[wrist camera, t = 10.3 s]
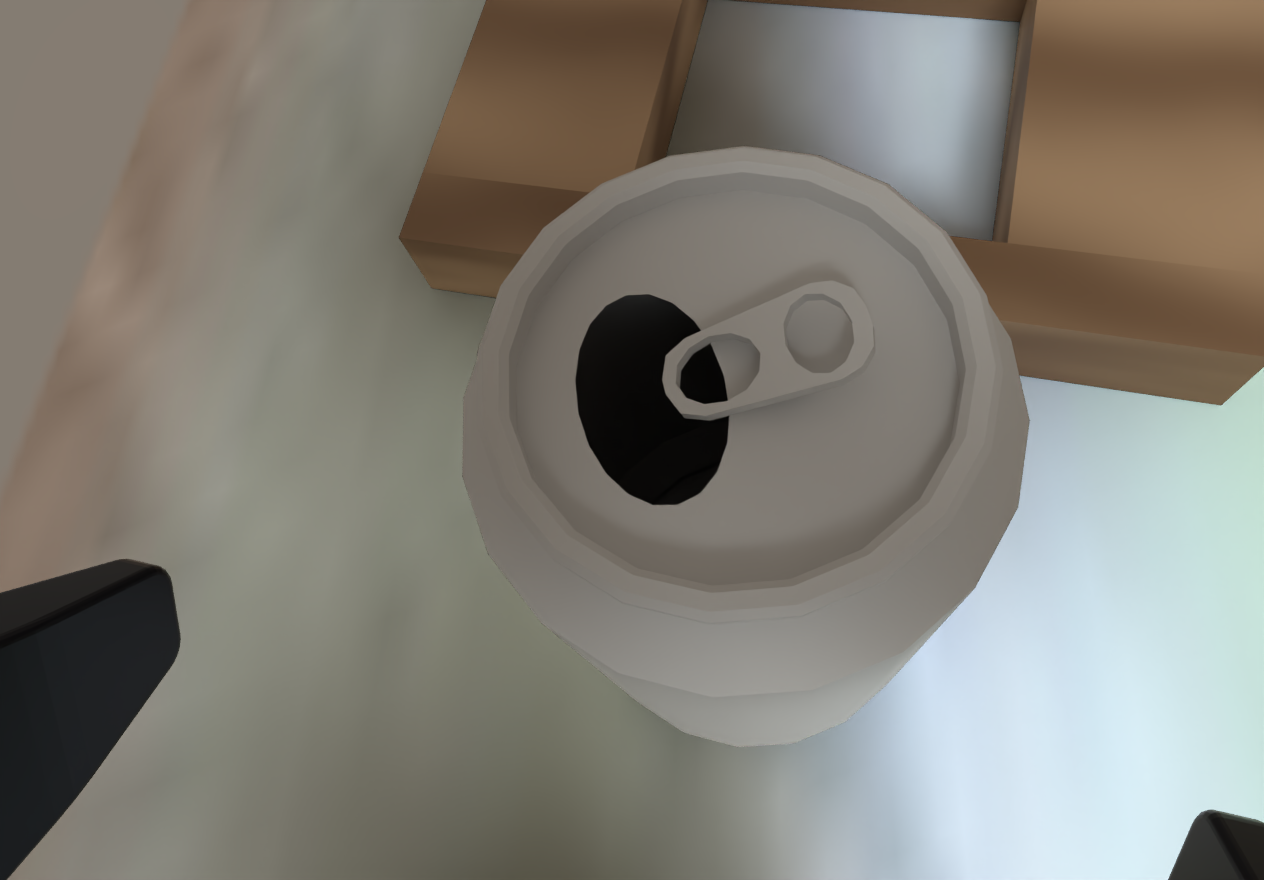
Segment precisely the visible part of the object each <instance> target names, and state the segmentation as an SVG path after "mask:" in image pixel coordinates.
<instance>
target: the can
mask: <svg viewBox="0 0 1264 880" xmlns="http://www.w3.org/2000/svg"><path fill="white" fill-rule="evenodd" d="M1029 421H1030V420H1029V416H1028V412H1027V407H1026V403H1025V398H1024V394H1023V390H1022V385H1021V381H1020V377H1019V372H1018V368H1017V363H1016V359H1015V355H1014V350H1013V346H1012V341H1011V338H1010V336H1009V335H1008V333H1007V332H1006V330H1005V329H1004V327H1003V325H1002V324H1001V322H1000V321H999V319H998V317H997V316H996V314H995V313H994V311H993V310H992V308H991V306H990V305H989V303H988V298H987V295H986V293H985V292H984V290H983V289H982V287H981V286H980V284H979V282H978V281H977V279H976V278H975V276H974V274H973V273H972V271H971V270H970V268H969V267H968V265H967V263H966V262H965V260H964V259H963V257H962V256H961V254H960V252H959V251H958V249H957V248H956V246H955V244H954V243H953V241H952V240H951V238H950V237H949V235H948V233H947V232H946V231H945V230H944V229H942V228H941V227H940V226H939V225H937V224H936V223H935V222H934V221H933V220H931V219H930V218H929V217H928V216H926V215H925V214H924V213H923V212H922V211H920V210H919V209H918V208H917V207H916V206H914V205H913V204H912V203H911V202H909V201H908V200H907V199H906V198H905V197H903V196H902V195H901V194H900V193H898V192H897V191H896V190H895V189H894V188H892V187H891V186H890V185H889V184H886V183H884V182H882V181H879V180H877V179H874V178H872V177H870V176H867V175H865V174H863V173H860V172H858V171H855V170H853V169H851V168H848V167H846V166H843V165H841V164H839V163H836V162H834V161H831V160H829V159H827V158H824V157H822V156H819V155H813V154H805V153H797V152H789V151H781V150H773V149H765V148H757V147H750V146H739V147H732V148H724V149H716V150H709V151H701V152H694V153H686V154H679V155H671V156H668V157H665V158H663V159H661V160H658V161H656V162H653V163H651V164H648V165H646V166H643V167H641V168H638V169H636V170H634V171H631V172H629V173H626V174H624V175H621V176H619V177H616V178H614V179H612V180H609V181H607V182H604V183H602V184H600V185H599V186H598V187H596V188H595V189H594V190H592V191H591V192H590V193H588V194H587V195H586V196H585V197H583V198H582V199H581V200H579V201H578V202H577V203H575V204H574V205H573V206H571V207H570V208H569V209H567V210H566V211H565V212H564V213H562V214H561V215H560V216H558V217H557V218H556V219H554V220H553V221H552V222H550V223H549V224H548V225H547V226H545V227H544V228H543V229H542V230H541V232H540V233H539V234H538V236H537V237H536V239H535V240H534V241H533V243H532V244H531V245H530V247H529V248H528V249H527V251H526V252H525V253H524V255H523V256H522V257H521V259H520V260H519V261H518V263H517V264H516V265H515V267H514V268H513V270H512V271H511V272H510V274H509V275H508V276H507V278H506V279H505V280H504V282H503V283H502V284H501V286H500V289H499V292H498V294H497V297H496V300H495V303H494V306H493V309H492V312H491V315H490V317H489V320H488V323H487V326H486V329H485V332H484V335H483V338H482V340H481V343H480V346H479V349H478V352H477V360H476V363H475V366H474V369H473V372H472V375H471V378H470V380H469V383H468V386H467V389H466V392H465V395H464V403H463V480H464V483H465V486H466V489H467V492H468V495H469V498H470V501H471V504H472V507H473V510H474V513H475V516H476V519H477V522H478V525H479V528H480V531H481V534H482V537H483V540H484V543H485V546H486V549H487V552H488V555H489V556H490V557H491V558H492V560H493V561H494V562H495V564H496V565H497V566H498V568H499V569H500V570H501V571H502V573H503V574H504V575H505V577H506V578H507V579H508V580H509V582H510V583H511V584H512V586H513V587H514V588H515V589H516V591H517V592H518V593H519V595H520V596H521V597H522V598H523V600H524V601H525V602H526V604H527V605H528V606H529V607H530V609H531V610H532V611H533V613H534V614H535V615H536V617H537V618H538V619H539V620H540V622H541V623H542V624H543V625H545V626H546V627H547V628H548V629H549V630H551V631H552V632H553V633H554V634H555V635H557V636H558V637H559V638H560V639H562V640H563V641H564V642H565V643H566V644H568V645H569V646H570V647H571V648H572V649H574V650H575V651H576V652H577V653H578V654H580V655H581V656H582V657H583V658H585V659H586V660H587V661H588V662H589V663H591V664H592V665H593V666H594V667H595V668H597V669H598V670H599V671H600V672H602V673H603V674H604V675H605V676H606V677H608V678H609V679H610V680H611V681H612V682H614V683H615V684H616V685H617V686H619V687H620V688H621V689H622V690H623V691H625V692H626V693H627V694H628V695H629V696H631V697H632V698H633V699H634V700H635V701H637V702H638V703H639V704H641V705H642V706H644V707H645V708H647V709H649V710H650V711H652V712H653V713H655V714H656V715H658V716H659V717H661V718H662V719H664V720H665V721H667V722H668V723H670V724H671V725H673V726H674V727H676V728H677V729H679V730H680V731H682V732H683V733H687V734H690V735H694V736H698V737H702V738H705V739H709V740H713V741H717V742H720V743H724V744H728V745H732V746H735V747H748V746H763V745H779V744H794V743H796V742H799V741H801V740H804V739H806V738H808V737H811V736H813V735H815V734H818V733H820V732H823V731H825V730H827V729H830V728H832V727H835V726H837V725H839V724H842V723H844V722H846V721H847V720H848V719H849V718H850V717H852V716H853V715H854V714H855V713H856V712H857V711H858V710H859V709H860V708H862V707H863V706H864V705H865V704H866V703H867V702H868V701H869V700H870V699H872V698H873V697H874V696H875V695H876V694H877V693H878V692H879V691H880V690H882V689H883V688H884V687H885V686H886V685H887V684H888V683H889V682H890V681H891V680H892V678H893V677H894V676H895V675H896V674H897V673H898V672H899V671H900V670H901V669H902V668H903V666H904V665H905V664H906V663H907V662H908V661H909V660H910V659H911V658H912V657H913V655H914V654H915V653H916V652H917V651H918V650H919V649H920V648H921V647H922V646H923V644H924V643H925V642H926V641H927V640H928V639H929V638H930V637H931V636H932V635H933V633H934V632H935V631H936V630H937V629H938V628H939V627H940V626H941V625H942V624H943V622H944V621H945V620H946V619H947V618H948V617H949V616H950V615H951V614H952V613H953V612H954V610H955V609H956V608H957V607H958V606H959V605H960V604H961V603H962V602H963V601H964V599H965V598H966V597H967V596H968V595H969V594H970V593H971V592H972V591H973V590H974V588H975V587H976V585H977V583H978V581H979V579H980V578H981V576H982V574H983V572H984V570H985V568H986V566H987V564H988V563H989V561H990V559H991V557H992V555H993V553H994V551H995V549H996V548H997V546H998V544H999V542H1000V540H1001V538H1002V536H1003V534H1004V533H1005V531H1006V529H1007V527H1008V525H1009V523H1010V521H1011V520H1012V518H1013V516H1014V514H1015V512H1016V510H1017V508H1018V504H1019V496H1020V489H1021V481H1022V474H1023V466H1024V459H1025V451H1026V444H1027V436H1028V429H1029Z"/></svg>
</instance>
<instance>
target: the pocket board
mask: <svg viewBox="0 0 1264 880" xmlns="http://www.w3.org/2000/svg"><path fill="white" fill-rule="evenodd" d="M707 1H708V0H486V2H485V5H484V8H483V11H482V13H481V16H480V19H479V21H478V24H477V27H476V30H475V32H474V35H473V38H472V40H471V43H470V46H469V49H468V51H467V54H466V57H465V59H464V62H463V65H462V68H461V70H460V73H459V76H458V78H457V81H456V84H455V87H454V89H453V92H452V95H451V97H450V100H449V103H448V106H447V108H446V111H445V114H444V116H443V119H442V122H441V125H440V127H439V130H438V133H437V135H436V138H435V141H434V144H433V146H432V149H431V152H430V154H429V157H428V160H427V163H426V165H425V168H424V171H423V173H422V176H421V179H420V182H419V184H418V187H417V190H416V192H415V195H414V198H413V200H412V203H411V206H410V209H409V211H408V214H407V217H406V219H405V222H404V225H403V228H402V230H401V233H400V236H399V239H400V240H401V242H402V243H403V245H404V246H405V248H406V249H407V251H408V253H409V254H410V256H411V257H412V259H413V260H414V262H415V263H416V265H417V266H418V268H419V270H420V271H421V273H422V274H423V276H424V277H425V279H426V280H427V282H428V283H429V285H430V286H431V288H434V289H441V290H448V291H454V292H461V293H468V294H475V295H481V296H488V297H495V298H496V297H497V294H498V292H499V289H500V286H501V284H502V283H503V282H504V280H505V279H506V278H507V276H508V275H509V274H510V272H511V271H512V270H513V268H514V267H515V265H516V264H517V263H518V261H519V260H520V259H521V257H522V256H523V255H524V253H525V252H526V251H527V249H528V248H529V247H530V245H531V244H532V243H533V241H534V240H535V239H536V237H537V236H538V234H539V233H540V232H541V230H542V229H543V228H544V227H545V226H547V225H548V224H549V223H550V222H552V221H553V220H554V219H556V218H557V217H558V216H560V215H561V214H562V213H564V212H565V211H566V210H567V209H569V208H570V207H571V206H573V205H574V204H575V203H577V202H578V201H579V200H581V199H582V198H583V197H585V196H586V195H587V194H588V193H590V192H591V191H592V190H594V189H595V188H596V187H598V186H599V185H600V184H602V183H604V182H607V181H609V180H612V179H614V178H616V177H619V176H621V175H624V174H626V173H629V172H631V171H634V170H636V169H638V168H641V167H643V166H646V165H648V164H651V163H653V162H656V161H658V160H661V159H663V158H665V157H666V153H667V150H668V146H669V142H670V138H671V135H672V131H673V127H674V124H675V120H676V116H677V112H678V109H679V105H680V101H681V98H682V94H683V90H684V86H685V83H686V79H687V75H688V72H689V68H690V64H691V60H692V57H693V53H694V49H695V46H696V42H697V38H698V34H699V31H700V27H701V23H702V20H703V16H704V12H705V8H706V5H707ZM734 1H747V2H761V3H774V4H788V5H801V6H815V7H828V8H842V9H855V10H868V11H882V12H895V13H909V14H922V15H936V16H949V17H963V18H976V19H990V20H1003V21H1017V22H1020V27H1019V34H1018V42H1017V50H1016V58H1015V66H1014V74H1013V81H1012V89H1011V97H1010V105H1009V113H1008V121H1007V128H1006V136H1005V144H1004V152H1003V160H1002V168H1001V175H1000V183H999V191H998V199H997V207H996V214H995V222H994V230H993V238H992V241H987V240H979V239H970V238H962V237H954V236H949V237H950V238H951V240H952V241H953V243H954V244H955V246H956V248H957V249H958V251H959V252H960V254H961V256H962V257H963V259H964V260H965V262H966V263H967V265H968V267H969V268H970V270H971V271H972V273H973V274H974V276H975V278H976V279H977V281H978V282H979V284H980V286H981V287H982V289H983V290H984V292H985V293H986V295H987V298H988V303H989V305H990V306H991V308H992V310H993V311H994V313H995V314H996V316H997V317H998V319H999V321H1000V322H1001V324H1002V325H1003V327H1004V329H1005V330H1006V332H1007V333H1008V335H1009V336H1010V338H1011V341H1012V346H1013V350H1014V355H1015V359H1016V363H1017V368H1018V372H1019V375H1020V376H1027V377H1034V378H1041V379H1047V380H1054V381H1061V382H1068V383H1074V384H1081V385H1088V386H1094V387H1101V388H1108V389H1115V390H1121V391H1128V392H1135V393H1142V394H1148V395H1155V396H1162V397H1169V398H1175V399H1182V400H1189V401H1196V402H1202V403H1209V404H1216V405H1222V404H1223V403H1224V402H1225V401H1227V400H1228V399H1229V398H1230V397H1231V396H1232V395H1233V394H1234V393H1235V392H1236V391H1238V390H1239V389H1240V388H1241V387H1242V386H1243V385H1244V384H1245V383H1246V382H1247V381H1249V380H1250V379H1251V378H1252V377H1253V376H1254V375H1255V374H1256V373H1257V372H1259V371H1260V370H1261V369H1262V368H1263V367H1264V0H734Z"/></svg>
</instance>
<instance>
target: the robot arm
mask: <svg viewBox="0 0 1264 880" xmlns="http://www.w3.org/2000/svg"><path fill="white" fill-rule="evenodd" d="M180 640H181V638H180V629H179V623H178V617H177V611H176V605H175V599H174V592H173V586H172V581H171V578H170V576H169V574H168V573H167V571H166V570H165V569H163V568H162V567H160V566H157V565H153V564H149V563H144V562H140V561H136V560H130V559H120V560H115V561H112V562H108V563H105V564H101V565H98V566H94V567H90V568H87V569H83V570H80V571H76V572H73V573H69V574H66V575H62V576H58V577H55V578H51V579H48V580H44V581H41V582H37V583H34V584H30V585H27V586H23V587H19V588H16V589H12V590H9V591H5V592H2V593H0V880H7V879H8V878H9V877H10V876H11V874H12V873H13V872H14V871H15V870H16V869H17V867H18V866H19V865H20V864H21V863H22V862H23V860H24V859H25V858H26V857H27V856H28V855H29V854H30V852H31V851H32V850H33V849H34V848H35V847H36V845H37V844H38V843H39V842H40V841H41V840H42V838H43V837H44V836H45V835H46V834H47V833H48V831H49V830H50V829H51V828H52V827H53V826H54V824H55V823H56V822H57V821H58V820H59V819H60V817H61V816H62V815H63V814H64V812H65V811H66V810H67V809H68V808H69V806H70V805H71V804H72V803H73V802H74V800H75V799H76V798H77V796H78V795H79V794H80V792H81V791H82V790H83V788H84V787H85V786H86V784H87V783H88V782H89V780H90V779H91V778H92V777H93V775H94V774H95V772H96V771H97V770H98V768H99V767H100V765H101V764H102V763H103V761H104V760H105V758H106V757H107V756H108V754H109V753H110V751H111V750H112V749H113V747H114V746H115V744H116V743H117V742H118V740H119V739H120V737H121V736H122V735H123V733H124V732H125V730H126V729H127V728H128V726H129V725H130V723H131V722H132V721H133V719H134V718H135V716H136V715H137V714H138V712H139V711H140V710H141V708H142V707H143V705H144V704H145V703H146V701H147V700H148V698H149V697H150V696H151V694H152V693H153V691H154V690H155V689H156V687H157V686H158V684H159V683H160V682H161V680H162V679H163V677H164V676H165V675H166V673H167V672H168V670H169V669H170V668H171V666H172V665H173V663H174V661H175V659H176V657H177V654H178V651H179V648H180ZM1168 880H1264V823H1263V822H1261V821H1258V820H1255V819H1251V818H1247V817H1242V816H1238V815H1234V814H1229V813H1225V812H1221V811H1216V810H1207V811H1203V812H1201V813H1200V814H1199V815H1198V816H1197V817H1196V819H1195V820H1194V822H1193V823H1192V826H1191V828H1190V830H1189V833H1188V835H1187V837H1186V840H1185V842H1184V844H1183V846H1182V849H1181V851H1180V853H1179V856H1178V858H1177V860H1176V863H1175V865H1174V867H1173V869H1172V872H1171V874H1170V876H1169V879H1168Z"/></svg>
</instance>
